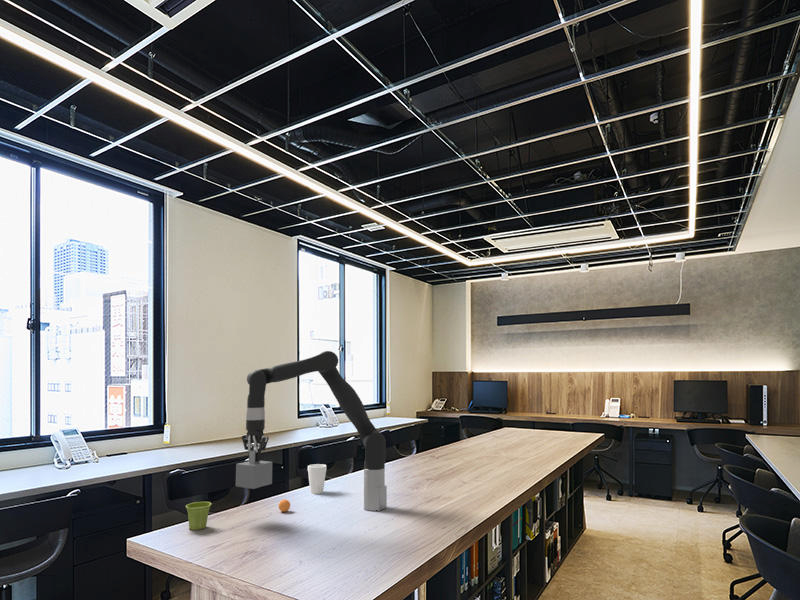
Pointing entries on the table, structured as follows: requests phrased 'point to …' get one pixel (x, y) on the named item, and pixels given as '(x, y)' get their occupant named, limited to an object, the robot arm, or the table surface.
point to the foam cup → (316, 478)
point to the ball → (284, 505)
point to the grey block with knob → (253, 473)
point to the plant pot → (198, 514)
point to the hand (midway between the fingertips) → (254, 460)
